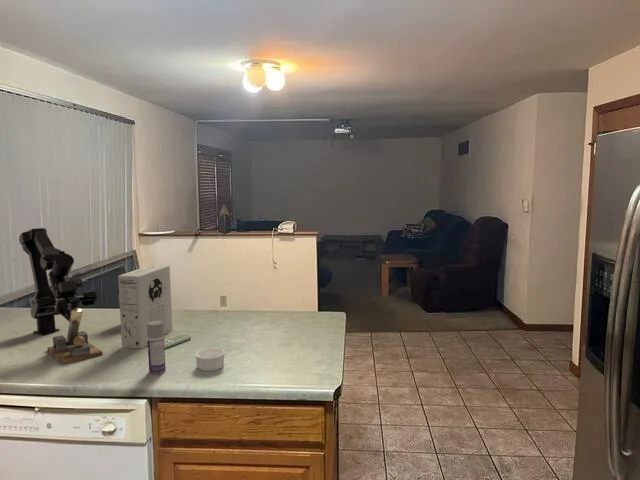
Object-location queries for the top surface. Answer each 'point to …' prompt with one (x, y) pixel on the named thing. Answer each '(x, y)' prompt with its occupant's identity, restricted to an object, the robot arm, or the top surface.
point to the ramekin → (210, 359)
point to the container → (156, 347)
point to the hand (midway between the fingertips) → (73, 323)
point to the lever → (73, 325)
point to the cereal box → (144, 303)
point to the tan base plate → (73, 349)
